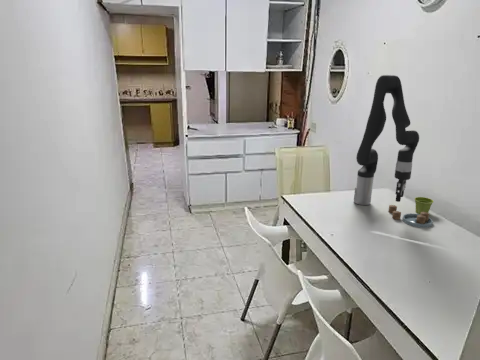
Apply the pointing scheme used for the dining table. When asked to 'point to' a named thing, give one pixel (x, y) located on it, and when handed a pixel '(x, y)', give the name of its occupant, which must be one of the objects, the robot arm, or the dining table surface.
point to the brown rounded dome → (396, 215)
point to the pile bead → (392, 208)
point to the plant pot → (423, 204)
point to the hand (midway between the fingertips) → (399, 199)
